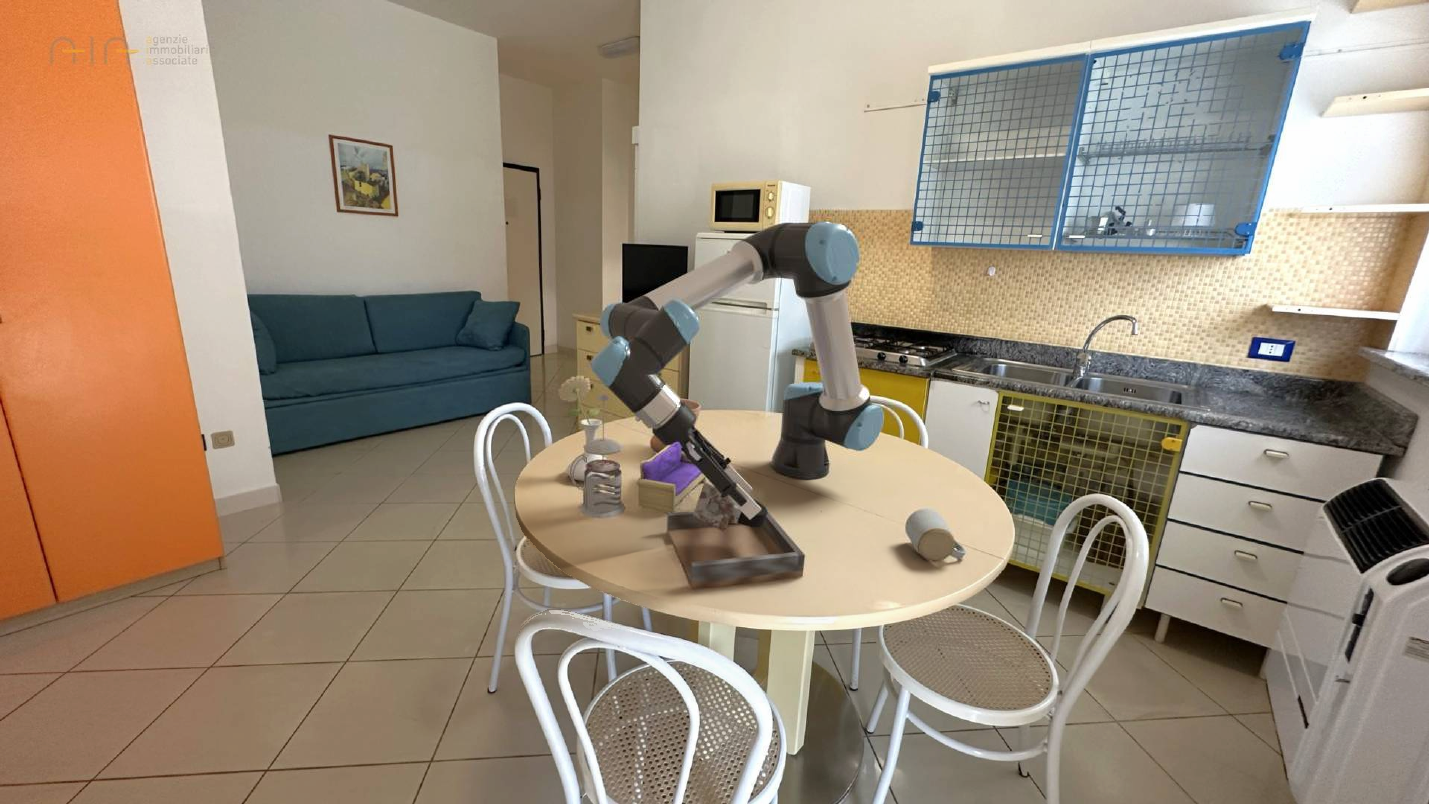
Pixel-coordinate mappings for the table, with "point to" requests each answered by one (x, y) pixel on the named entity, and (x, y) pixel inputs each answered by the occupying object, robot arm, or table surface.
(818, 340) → the robot arm
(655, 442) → the ceramic jug
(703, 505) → the caster wheel
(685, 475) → the toy sofa
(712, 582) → the square tray
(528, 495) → the table surface
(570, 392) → the flower in vase
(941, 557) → the ceramic mug
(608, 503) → the french press
